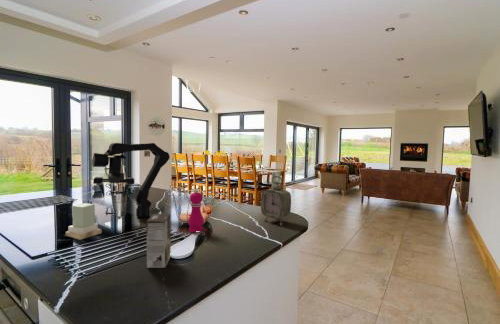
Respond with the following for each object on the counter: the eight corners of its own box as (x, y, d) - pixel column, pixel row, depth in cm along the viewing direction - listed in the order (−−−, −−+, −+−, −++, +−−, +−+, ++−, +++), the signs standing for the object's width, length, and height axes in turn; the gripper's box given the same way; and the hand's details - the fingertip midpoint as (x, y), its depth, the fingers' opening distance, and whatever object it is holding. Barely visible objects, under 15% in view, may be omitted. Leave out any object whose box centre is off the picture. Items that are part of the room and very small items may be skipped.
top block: (84, 226, 128) (83, 221, 128) (97, 228, 126) (97, 223, 126) (68, 232, 121) (68, 226, 121) (82, 234, 118) (82, 228, 118)
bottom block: (87, 231, 130) (87, 225, 130) (101, 234, 126) (101, 229, 126) (65, 237, 121) (65, 231, 121) (79, 241, 117) (79, 235, 117)
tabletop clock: (260, 221, 150) (261, 175, 148) (270, 218, 156) (272, 174, 154) (282, 227, 140) (283, 178, 138) (292, 223, 146) (293, 176, 145)
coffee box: (153, 256, 101) (153, 213, 100) (171, 256, 102) (171, 213, 101) (146, 268, 92) (145, 220, 91) (165, 267, 93) (165, 220, 91)
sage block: (85, 222, 127) (84, 203, 126) (95, 223, 125) (94, 204, 124) (72, 226, 121) (72, 206, 121) (83, 227, 119) (82, 207, 119)
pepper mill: (206, 229, 134) (206, 188, 132) (198, 234, 127) (199, 191, 125) (193, 227, 136) (193, 187, 134) (185, 232, 129) (185, 189, 128)
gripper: (92, 167, 131) (91, 200, 131) (135, 169, 139) (133, 199, 139) (95, 166, 141) (93, 196, 142) (134, 167, 149) (133, 196, 149)
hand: (113, 197), depth 143 cm, fingers open, 9 cm apart
